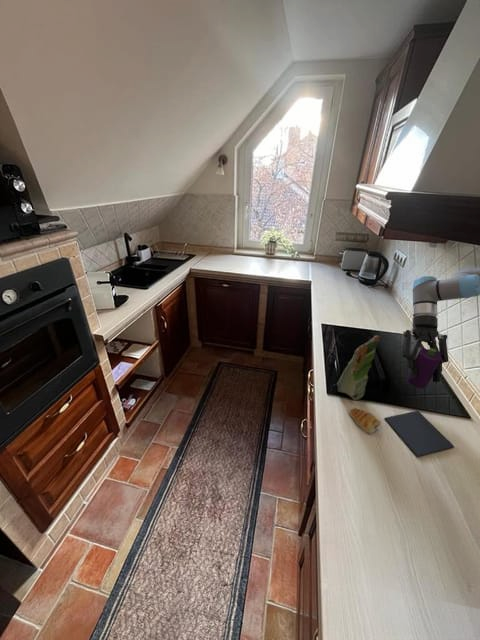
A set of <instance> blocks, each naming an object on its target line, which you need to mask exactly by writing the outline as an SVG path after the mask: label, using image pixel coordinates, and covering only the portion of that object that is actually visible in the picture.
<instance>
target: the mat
mask: <svg viewBox="0 0 480 640" xmlns="http://www.w3.org/2000/svg"><path fill="white" fill-rule="evenodd" d="M384 420H385V422H386V423H387V424H388V425H389V427H390V428H391V429H392V430H393V432H395V434H396V435H397V436H398V437H399V439H400V440H401V441H402V442H403V443H404V444H405V445H406V447H407V448H408V449H409V450H410V451H411V452H412V453H413V455H415V457H416V458H420V457H424V456H428V455H431V454H435V453H438V452H439V453H440V452H443V451H446V450H450V449H451V450H452V449H454V448H455V445H454V444H453V443H452V442H451V441H450V440H449V439H448V438H447V437H446V436H445V435H444V434H443V433H441V431H439V429H438V428H437V427H436V426H434V425H433V424H432V423H431V422H430V421H429V420H428V418H427V417H426V416H424V415H423V413H421V412H420V411H419V410H414V411H409V412H405V413H400V414H395V415H391V416H387V417H384Z"/></svg>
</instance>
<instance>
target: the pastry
mask: <svg viewBox="0 0 480 640" xmlns="http://www.w3.org/2000/svg"><path fill="white" fill-rule="evenodd" d="M350 416H351V418H352V419H353V421H354V422H355V424H356V425H357V426H358V427H359V428H360V429H362V430H363V431H364V432H365V433H367V434H369V435H371V434H373V433H374V432H375V431H376V430H378V429H379V428H380V427H381V421H380V419H378V418H377V417H376V416H375V415H373V414H372V413H370V412H368V411H365V410H363V409H361V408H357V407H355V408H351V409H350Z"/></svg>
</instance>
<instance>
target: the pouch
mask: <svg viewBox="0 0 480 640" xmlns="http://www.w3.org/2000/svg"><path fill="white" fill-rule="evenodd" d="M380 338H381V336H379V335H378V334H376V335H374V336H373V337H372V338H370V339H369V340H367V341H366V342H365V343H363V344H362V345H360V346H358V347H357V348H356V349H355V350H354V354H353V356H352V358H351V359H350V361H348V362H347V366H346V367H345V368H344V370H343V371H342V374H341V375H340V377H339V379H338V381H337V383H336V386H337V392H338V393H342V394H346V395H347V396H348V397H350V398H351V399H352V400H353V401H358V400H361V399H362V398H363V397H364V396H365V392H366V386H367V383H368V380H369V376H368V375H369V374H368V373H369V372H370V371H369V370H370V369H371V368H372V367H373V365H372V362H373V359H374V358H375V353H376V349H377V347H378V345H379V341H380Z"/></svg>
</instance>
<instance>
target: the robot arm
mask: <svg viewBox="0 0 480 640" xmlns="http://www.w3.org/2000/svg"><path fill="white" fill-rule="evenodd" d="M411 290H412V291H411V292H412V325H411V326H412V329H406V330H404V331H402V332H403V333H402V334H403V338H404V339H403V347H402V355H401V356H402V357H403V358H405V359H406V360H407V367H408V369H410V370H411V378H412V379H415V378H417V360H416V357H417V355H418V354H417V353H418V352H419V349H420V346H421V344H422V342H423V343H426V344H427V346H428V347H429V349H430V348H433V349H435V350H436V352H437V353H438V354H440V355H441V357H442V359H441V361H440V363H439V365H438V366H437V368H436V370H435V372H434V374H433V375H432V383H441V373H443V364H444V363H448V362H449V361H450V359H449V353H448V345H447V341H448V334H445V333H444V334H442V333H439V331H438V326H439V323H438V320H439V319H438V315H439V314H438V312H439V311H438V302H442V301H451V300H460V299H470V298H473V297H474V298H475V297H479V296H480V267H473V266H468V267H463V268H462V269H459V270H458V271H457V272H455V274H454V275H453V276H452V277H451V278H445V279H439V280H438V279H437V278H436V276H432V275H423V276H418V277H416V278H415V279H414V280H413V282H412V289H411ZM412 336H414V340H413V343H412V346H411V342H412ZM436 339H437V340H438V343H437V340H436ZM437 344H438V345H437Z"/></svg>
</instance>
